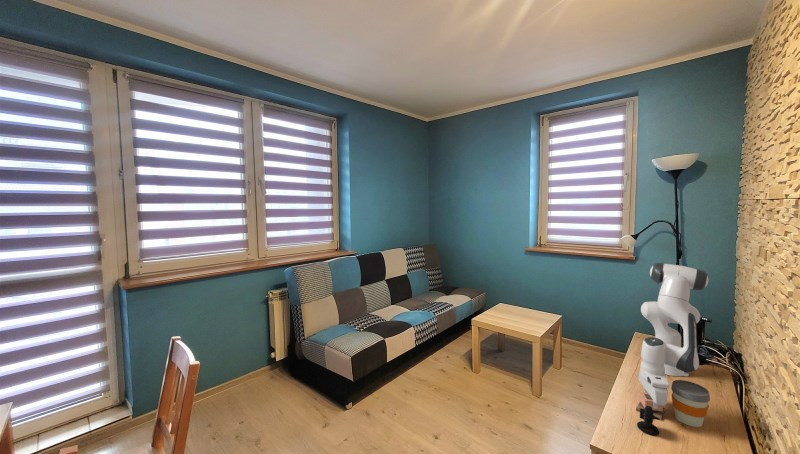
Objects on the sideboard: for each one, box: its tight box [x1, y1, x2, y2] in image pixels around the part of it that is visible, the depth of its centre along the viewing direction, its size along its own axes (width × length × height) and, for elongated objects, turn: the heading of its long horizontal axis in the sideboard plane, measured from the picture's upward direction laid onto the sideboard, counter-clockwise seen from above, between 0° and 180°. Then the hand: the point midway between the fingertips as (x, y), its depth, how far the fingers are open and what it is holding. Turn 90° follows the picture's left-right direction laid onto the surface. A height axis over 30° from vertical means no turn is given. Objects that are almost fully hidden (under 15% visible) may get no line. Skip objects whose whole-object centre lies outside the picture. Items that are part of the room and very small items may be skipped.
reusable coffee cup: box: [670, 379, 711, 428], centre depth 139 cm, size 13×13×15 cm
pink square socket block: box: [638, 391, 664, 411], centre depth 146 cm, size 7×7×4 cm
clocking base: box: [635, 396, 666, 421], centre depth 146 cm, size 10×9×6 cm
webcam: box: [636, 406, 661, 436], centre depth 134 cm, size 8×8×10 cm
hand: (651, 402), depth 146 cm, fingers closed on pink square socket block, 7 cm apart
